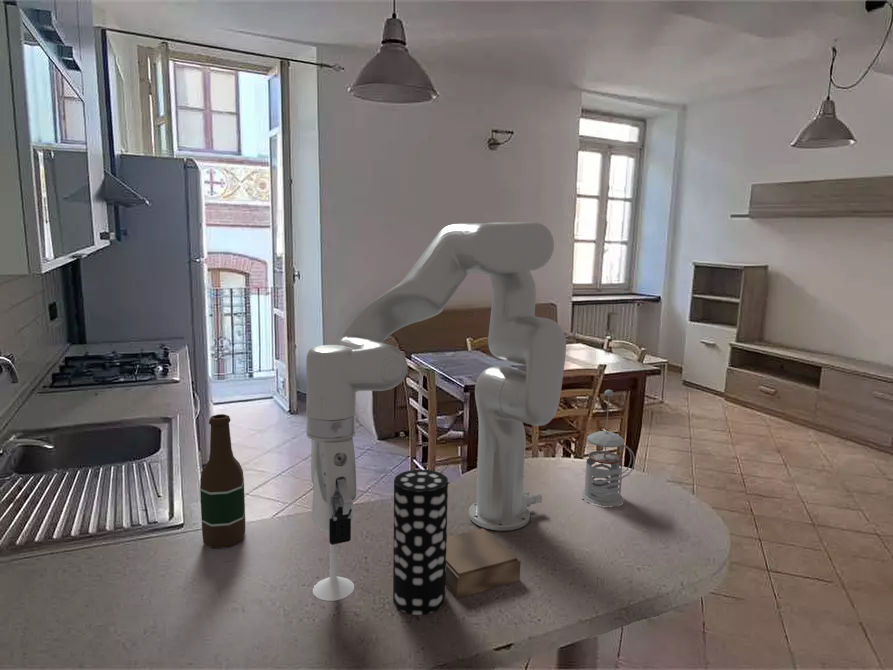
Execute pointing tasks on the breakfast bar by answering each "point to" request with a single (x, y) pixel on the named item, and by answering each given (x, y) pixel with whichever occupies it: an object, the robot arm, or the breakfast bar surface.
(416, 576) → the spotted tube
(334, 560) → the champagne flute
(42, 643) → the breakfast bar surface
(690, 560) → the breakfast bar surface
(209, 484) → the beer bottle
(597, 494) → the french press
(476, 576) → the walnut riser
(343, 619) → the breakfast bar surface
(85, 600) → the breakfast bar surface
